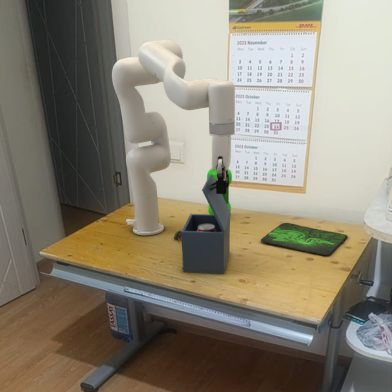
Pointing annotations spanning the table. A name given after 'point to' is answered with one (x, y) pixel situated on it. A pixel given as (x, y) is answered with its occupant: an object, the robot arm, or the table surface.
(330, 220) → the table surface
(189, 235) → the toy chest
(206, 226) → the soda can
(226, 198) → the plastic bottle
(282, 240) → the mouse mat
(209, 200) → the chest lid
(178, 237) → the rusty metal lantern
